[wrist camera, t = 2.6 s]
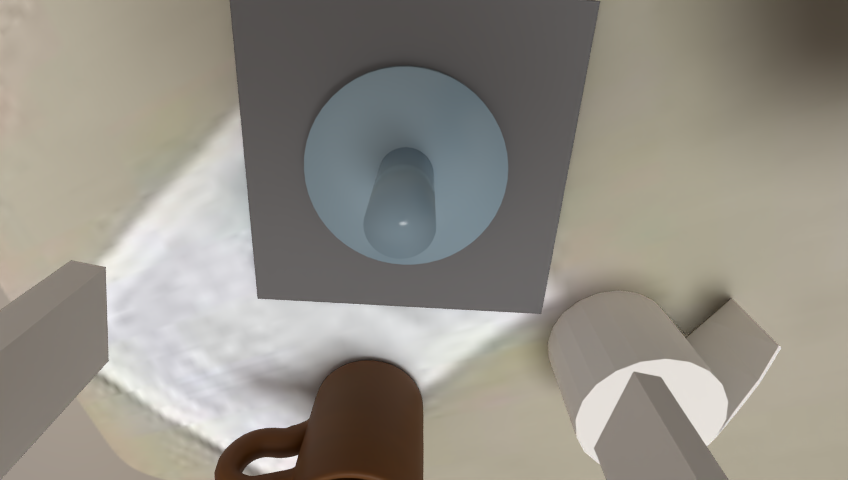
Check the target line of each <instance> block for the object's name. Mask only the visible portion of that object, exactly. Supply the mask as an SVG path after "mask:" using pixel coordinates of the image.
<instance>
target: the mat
mask: <svg viewBox="0 0 848 480" xmlns="http://www.w3.org/2000/svg"><path fill="white" fill-rule="evenodd" d="M599 4H600V1H588V0H230V8H231V18H232V29H233V40H234V50H235V61H236V72H237V82H238V93H239V104H240V115H241V125H242V136H243V147H244V157H245V168H246V179H247V189H248V200H249V211H250V221H251V232H252V243H253V254H254V264H255V275H256V286H257V296H258V299H276V300H294V301H313V302H332V303H350V304H369V305H387V306H406V307H424V308H443V309H461V310H480V311H498V312H517V313H535V314H541V312H542V307H543V302H544V296H545V291H546V286H547V280H548V275H549V270H550V265H551V259H552V254H553V249H554V243H555V238H556V233H557V227H558V222H559V217H560V211H561V206H562V201H563V195H564V190H565V185H566V180H567V174H568V169H569V164H570V158H571V153H572V148H573V142H574V137H575V132H576V126H577V121H578V116H579V110H580V105H581V100H582V95H583V89H584V84H585V79H586V73H587V68H588V63H589V57H590V52H591V47H592V41H593V36H594V31H595V25H596V20H597V15H598V10H599ZM401 65H412V66H420V67H426V68H430V69H434V70H437V71H440V72H442V73H445V74H447V75H450V76H452V77H453V78H455V79H457V80H458V81H460V82H462V83H463V84H465V85H466V86H467V87H468V88H470V89H471V90H472V91H474V92H475V93H476V95H477V96H478V97H479V98H480V99H481V100H482V101H483V102H484V103H485V105H486V106H487V107H488V109H489V110H490V112H491V113H492V115H493V116H494V118H495V120H496V122H497V124H498V126H499V128H500V130H501V133H502V136H503V138H504V141H505V146H506V150H507V157H508V180H507V185H506V190H505V194H504V197H503V200H502V203H501V205H500V207H499V209H498V211H497V213H496V215H495V217H494V218H493V220H492V221H491V223H490V224H489V226H488V227H487V228H486V229H485V230H484V231H483V233H482V234H481V235H480V236H479V237H478V238H476V239H475V240H474V241H473V242H472V243H471V244H469V245H468V246H466V247H465V248H463V249H462V250H460V251H458V252H456V253H455V254H453V255H451V256H448V257H446V258H443V259H440V260H437V261H433V262H429V263H423V264H415V265H401V264H392V263H387V262H382V261H378V260H375V259H372V258H369V257H367V256H365V255H363V254H361V253H358V252H356V251H355V250H353V249H352V248H350V247H348V246H347V245H345V244H344V243H343V242H342V241H340V240H339V239H338V238H337V237H336V236H335V235H334V234H333V233H332V232H331V231H330V230H329V229H328V228H327V227H326V225H325V224H324V223H323V221H322V220H321V219H320V217H319V215H318V214H317V212H316V210H315V208H314V207H313V204H312V202H311V199H310V197H309V194H308V190H307V186H306V182H305V174H304V154H305V147H306V142H307V139H308V136H309V132H310V130H311V127H312V125H313V123H314V121H315V119H316V117H317V116H318V114H319V112H320V111H321V109H322V108H323V107H324V105H325V104H326V103H327V102H328V101H329V100H330V98H331V97H332V96H333V95H334V94H335V93H337V92H338V91H339V90H340V89H341V88H342V87H344V86H345V85H346V84H348V83H349V82H351V81H352V80H354V79H355V78H357V77H359V76H361V75H363V74H366V73H368V72H370V71H373V70H377V69H380V68H384V67H391V66H401Z"/></svg>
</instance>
